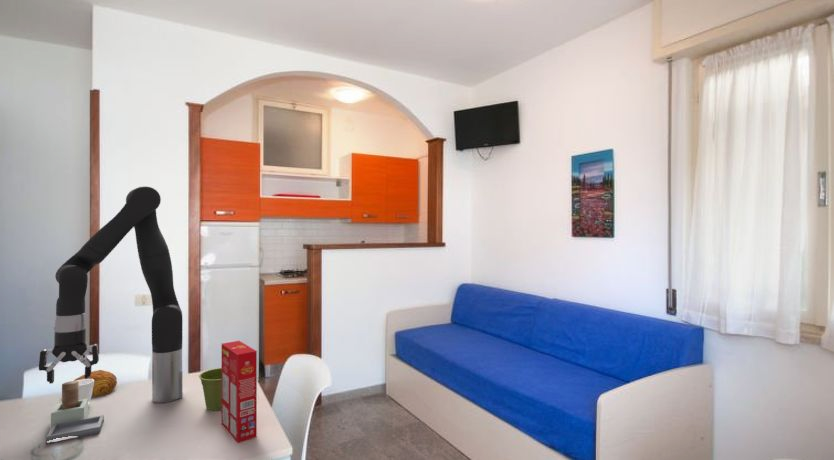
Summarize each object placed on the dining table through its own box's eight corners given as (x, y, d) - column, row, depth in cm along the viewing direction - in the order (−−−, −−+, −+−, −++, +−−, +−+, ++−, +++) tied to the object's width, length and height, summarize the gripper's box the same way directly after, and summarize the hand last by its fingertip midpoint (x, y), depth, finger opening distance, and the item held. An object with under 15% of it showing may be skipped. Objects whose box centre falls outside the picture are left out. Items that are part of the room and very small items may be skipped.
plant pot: (204, 417, 133) (204, 382, 133) (194, 405, 142) (194, 372, 142) (242, 407, 141) (242, 374, 141) (231, 396, 150) (231, 365, 150)
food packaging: (256, 436, 121) (256, 351, 121) (237, 443, 118) (237, 354, 118) (239, 419, 132) (239, 340, 132) (221, 424, 129) (221, 343, 129)
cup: (76, 411, 137) (76, 387, 137) (58, 406, 141) (57, 383, 141) (99, 403, 144) (99, 380, 144) (81, 398, 148) (81, 376, 147)
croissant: (113, 386, 165) (114, 366, 166) (119, 392, 153) (119, 370, 154) (66, 395, 155) (66, 373, 156) (68, 402, 144) (68, 378, 145)
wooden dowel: (79, 417, 133) (79, 380, 133) (77, 422, 130) (77, 384, 130) (63, 420, 131) (63, 382, 131) (60, 425, 128) (60, 386, 128)
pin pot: (88, 413, 136) (88, 398, 136) (83, 423, 129) (83, 407, 129) (57, 419, 132) (57, 403, 132) (50, 429, 125) (50, 413, 125)
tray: (103, 421, 131) (103, 414, 131) (99, 433, 123) (99, 426, 123) (54, 430, 125) (53, 423, 125) (46, 444, 117) (46, 436, 117)
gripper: (100, 323, 137) (99, 373, 137) (43, 328, 130) (42, 380, 130) (97, 328, 131) (95, 380, 131) (36, 333, 124) (35, 388, 123)
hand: (69, 380), depth 130 cm, fingers open, 8 cm apart
